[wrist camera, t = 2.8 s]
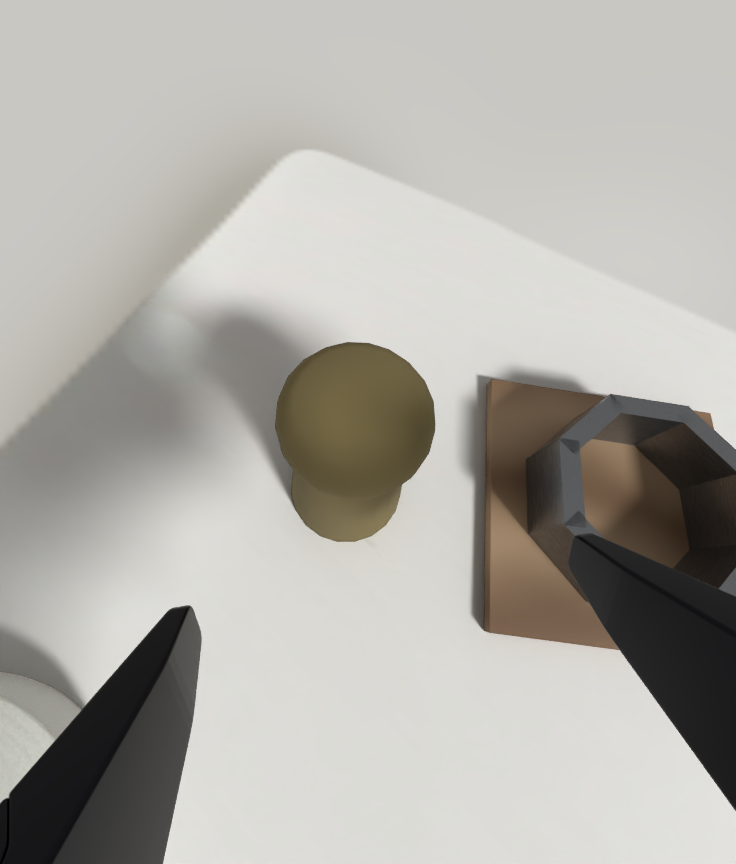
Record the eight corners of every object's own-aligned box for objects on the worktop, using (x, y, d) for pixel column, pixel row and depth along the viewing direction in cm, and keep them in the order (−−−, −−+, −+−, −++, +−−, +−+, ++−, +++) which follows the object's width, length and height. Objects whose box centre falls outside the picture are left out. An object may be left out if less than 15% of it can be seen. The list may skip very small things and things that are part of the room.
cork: (296, 551, 20) (260, 517, 10) (286, 441, 22) (246, 319, 12) (410, 532, 21) (486, 483, 11) (389, 428, 23) (435, 303, 13)
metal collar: (720, 620, 20) (797, 627, 16) (528, 593, 19) (568, 595, 16) (685, 437, 23) (742, 414, 20) (524, 412, 23) (555, 385, 20)
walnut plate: (751, 666, 20) (768, 669, 19) (483, 630, 19) (489, 632, 19) (698, 418, 25) (710, 413, 24) (487, 385, 25) (491, 378, 24)
